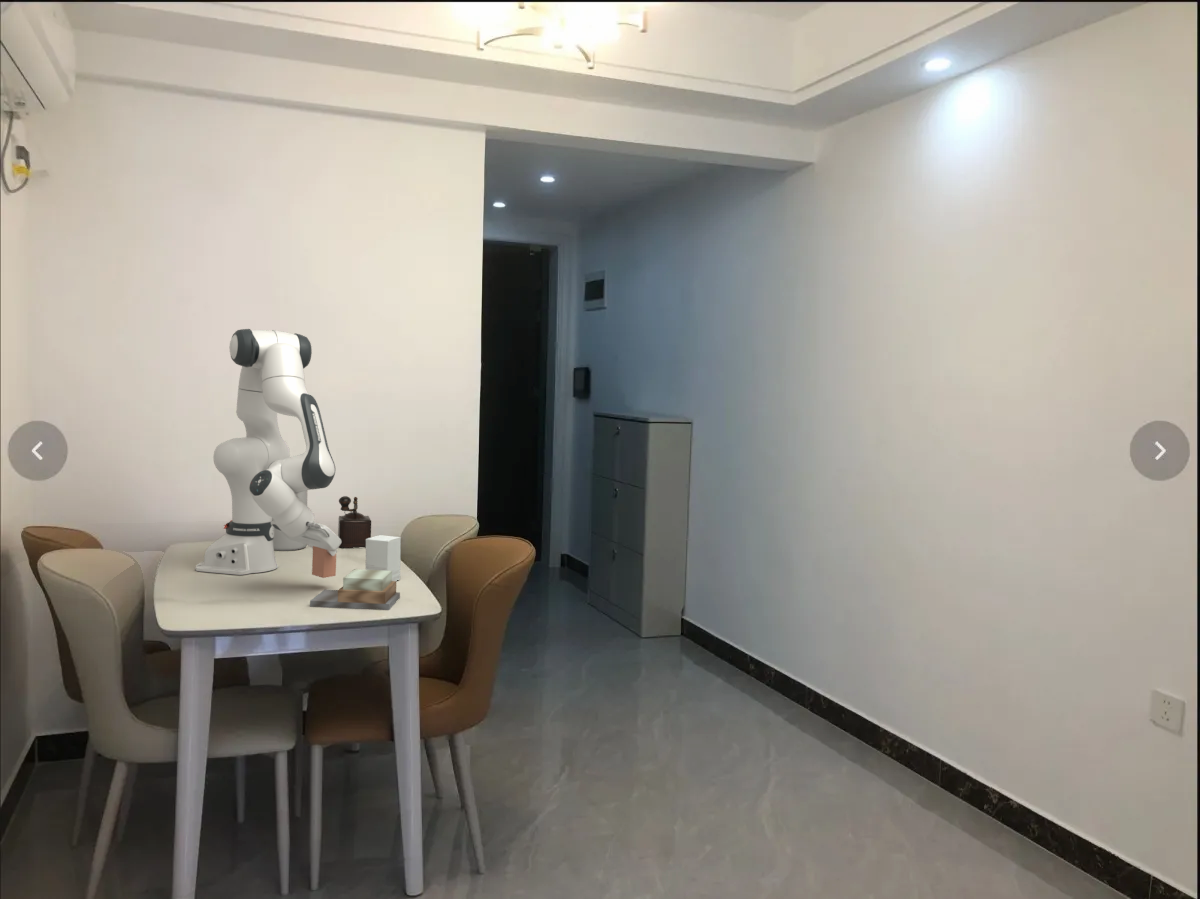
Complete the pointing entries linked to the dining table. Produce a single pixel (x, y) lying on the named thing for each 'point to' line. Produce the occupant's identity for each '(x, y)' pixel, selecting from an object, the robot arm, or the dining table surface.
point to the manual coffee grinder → (353, 525)
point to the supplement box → (384, 554)
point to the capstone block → (323, 563)
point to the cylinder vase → (282, 541)
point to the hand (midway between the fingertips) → (326, 551)
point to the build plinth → (333, 598)
